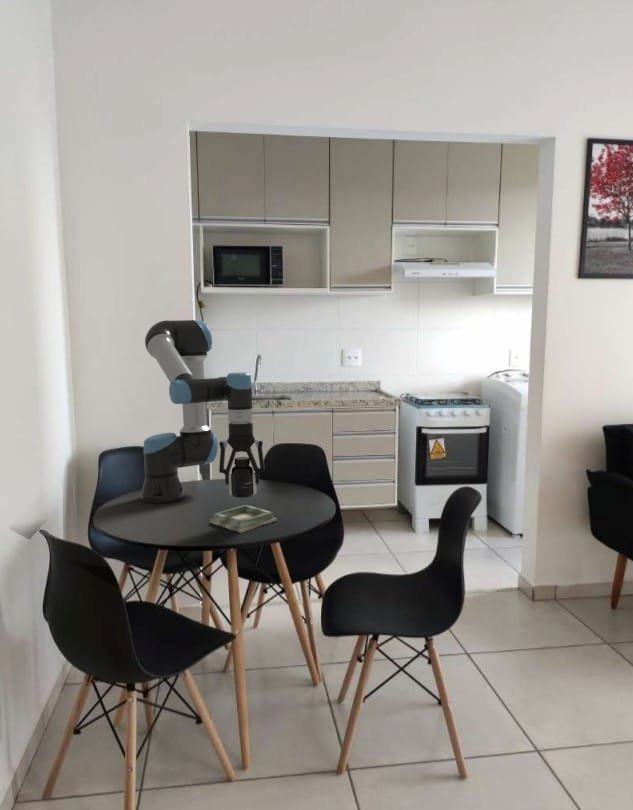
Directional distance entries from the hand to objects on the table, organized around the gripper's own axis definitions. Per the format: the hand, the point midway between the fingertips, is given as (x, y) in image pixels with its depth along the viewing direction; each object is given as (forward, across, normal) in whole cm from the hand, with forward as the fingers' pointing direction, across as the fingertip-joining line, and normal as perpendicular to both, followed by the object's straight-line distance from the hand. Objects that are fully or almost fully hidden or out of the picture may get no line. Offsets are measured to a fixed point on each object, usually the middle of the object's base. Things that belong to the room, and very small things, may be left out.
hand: (242, 493), depth 196 cm
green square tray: (+9, 0, 0) cm, 9 cm away
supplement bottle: (+1, 0, 0) cm, 1 cm away
